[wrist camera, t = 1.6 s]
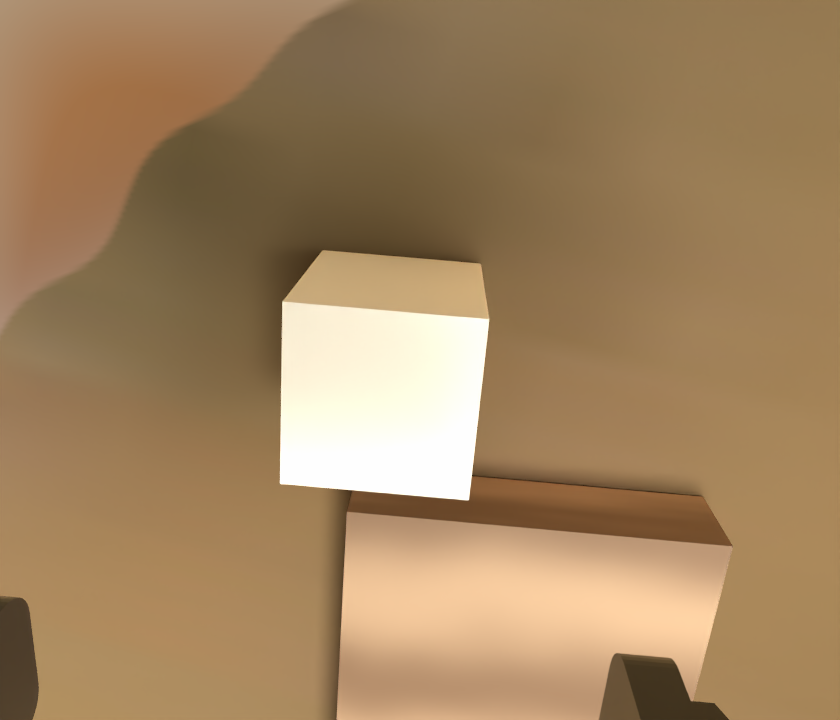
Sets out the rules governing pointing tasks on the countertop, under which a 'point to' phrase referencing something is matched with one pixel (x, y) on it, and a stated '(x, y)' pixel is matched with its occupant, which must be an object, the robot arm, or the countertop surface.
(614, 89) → the countertop surface
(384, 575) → the base
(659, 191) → the countertop surface
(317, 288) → the cube
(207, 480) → the countertop surface
